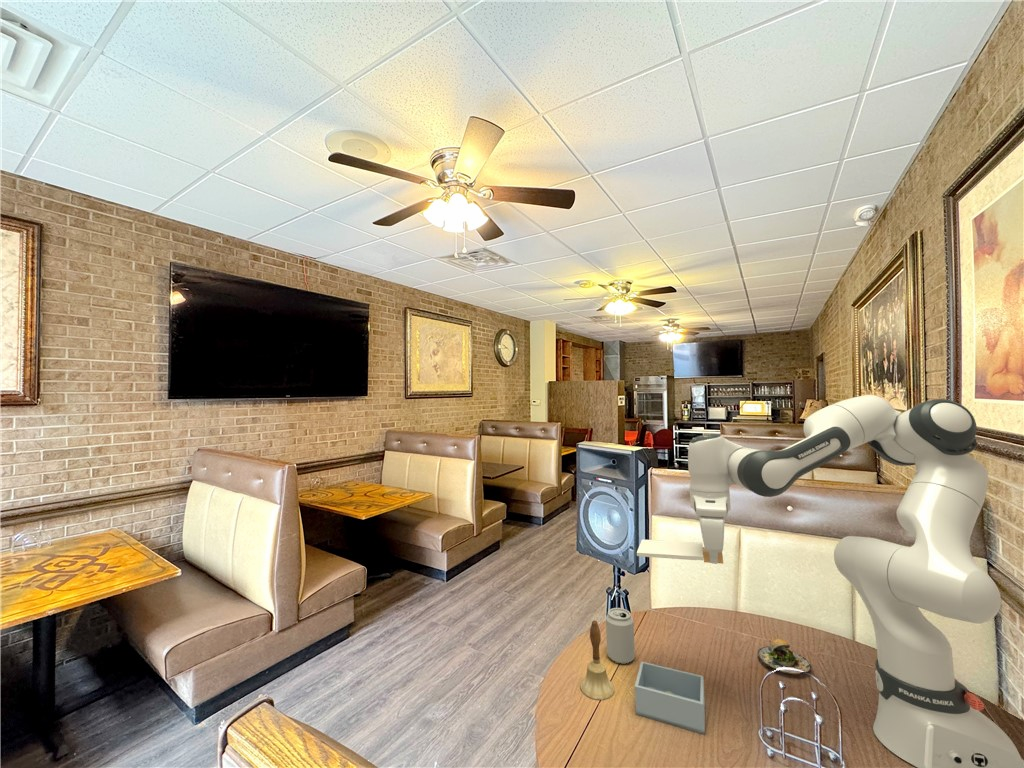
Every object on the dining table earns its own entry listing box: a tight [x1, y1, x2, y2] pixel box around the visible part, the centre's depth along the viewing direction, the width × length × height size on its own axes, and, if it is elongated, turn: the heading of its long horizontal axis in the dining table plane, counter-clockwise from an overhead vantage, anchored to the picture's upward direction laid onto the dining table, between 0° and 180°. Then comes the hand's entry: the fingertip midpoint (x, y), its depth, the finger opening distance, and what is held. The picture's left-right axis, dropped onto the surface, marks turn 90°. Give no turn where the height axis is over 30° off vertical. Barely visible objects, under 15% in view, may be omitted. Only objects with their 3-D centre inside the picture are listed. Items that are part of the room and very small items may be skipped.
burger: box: [757, 630, 813, 675], centre depth 107 cm, size 12×12×8 cm
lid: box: [636, 539, 724, 564], centre depth 101 cm, size 19×11×2 cm, turn 66°
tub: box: [634, 660, 706, 735], centre depth 92 cm, size 14×10×6 cm
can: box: [605, 607, 636, 665], centre depth 112 cm, size 8×8×12 cm
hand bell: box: [579, 620, 615, 701], centre depth 100 cm, size 8×8×16 cm
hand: (713, 558), depth 98 cm, fingers closed on lid, 3 cm apart
